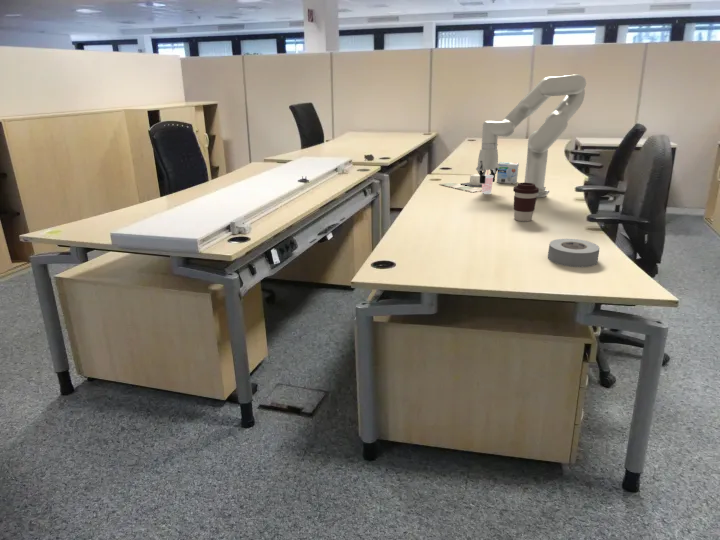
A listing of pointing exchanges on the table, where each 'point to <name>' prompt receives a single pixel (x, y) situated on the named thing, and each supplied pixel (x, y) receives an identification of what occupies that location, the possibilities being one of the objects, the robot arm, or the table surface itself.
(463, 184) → the mat
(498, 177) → the light bulb box
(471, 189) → the track
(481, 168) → the robot arm
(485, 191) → the beverage cup
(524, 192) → the coffee cup
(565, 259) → the tape roll
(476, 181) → the die
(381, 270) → the table surface
